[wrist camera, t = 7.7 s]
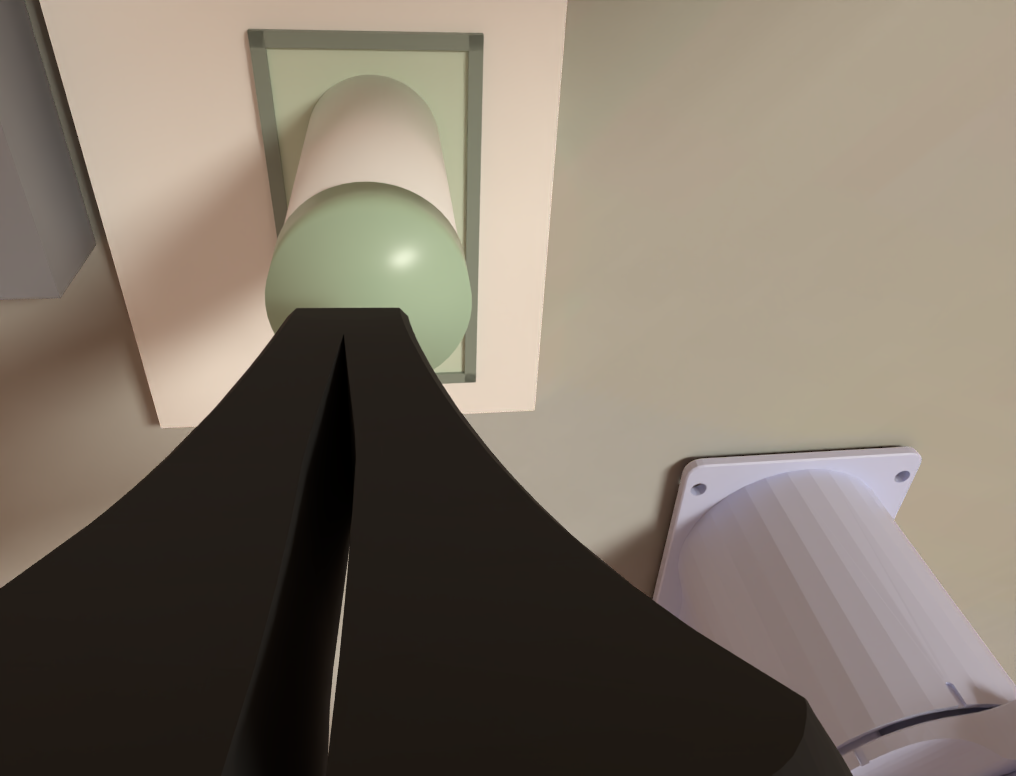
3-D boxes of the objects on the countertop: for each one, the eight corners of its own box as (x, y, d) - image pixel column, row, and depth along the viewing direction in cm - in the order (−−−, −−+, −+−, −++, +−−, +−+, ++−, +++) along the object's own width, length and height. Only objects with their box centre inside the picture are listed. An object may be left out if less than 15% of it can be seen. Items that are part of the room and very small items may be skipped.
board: (530, 397, 22) (535, 414, 21) (166, 414, 21) (159, 433, 20) (564, -36, 16) (571, -30, 15) (37, -52, 14) (21, -46, 14)
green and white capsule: (439, 208, 18) (466, 387, 12) (309, 204, 17) (274, 388, 12) (444, 75, 16) (478, 212, 10) (300, 67, 15) (254, 206, 10)
